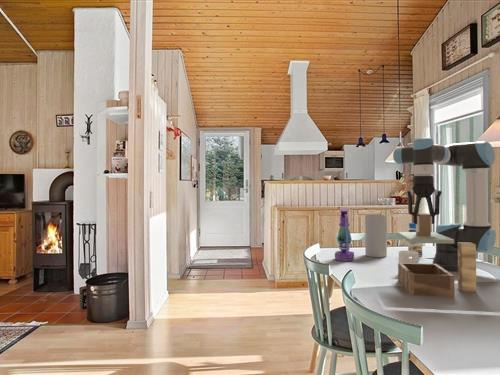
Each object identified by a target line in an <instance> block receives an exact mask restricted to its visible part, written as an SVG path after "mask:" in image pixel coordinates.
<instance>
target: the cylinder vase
mask: <svg viewBox="0 0 500 375" xmlns="http://www.w3.org/2000/svg"><path fill="white" fill-rule="evenodd" d="M364 215H365V217H364V224H365V227H364V228H365V229H364V230H365V231H364V232H365V233H364V235H365V236H364V237H365V245H364V246H365V251H364V252H365V256H366V257H370V258H380V259H381V258H385V257H387V255H388V251H387V250H388V249H387V247H388V243H387V242H388V241H387V240H388V238H387V232H388V231H387V215H386V214H364Z"/></svg>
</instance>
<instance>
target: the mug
mask: <svg viewBox="0 0 500 375" xmlns="http://www.w3.org/2000/svg"><path fill="white" fill-rule="evenodd" d="M419 257H420V256H419V253H418V252H416V251H408V250H399V251H398V263H420V262H419V260H420V259H419Z"/></svg>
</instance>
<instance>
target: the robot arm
mask: <svg viewBox="0 0 500 375" xmlns="http://www.w3.org/2000/svg"><path fill="white" fill-rule="evenodd" d="M412 143H413V144H412V145H413V146H402V147H397V148H395V149H394V150H393V153H392V154H393V155H392V156H393V157H392V158H393V161H394V163H396V164H399V165H400V164H402V165H404V164H412V165H413V167H412V168H413V170H412V171H413V175H414V176H413V186H412V189H410V190H406V191H405V193H406V195H407V208H408V209H407V212H408V214H409V215H411V216H412V219H413V221H412V223H414V224H416V232H420V223H419V216H417V215H418V213H419V210H420V205H421V200H422V199H424V198H425V200H426V204H427V208H428V214H430V215H431V232H433V225H435V217H436V216H439V215H440V211H441V210H440V209H441V208H440V206H441V204H440V202H441V195H442V191H441V190H437V189H436V188H435V186H434V180H435V178H434V164H436V165H439V166H440V165H441V166H448V167H449V166H450V167H451V166H452V167H462V168H461V169H462V171H463V172H464V173H465V195H466V196H465V199H466V200H465V201H466V202H465V206H466V207H465V208H466V209H465V210H466V221H465V222H463V223H462V224H461V223H447V224H446V223H445V224H438V225H436V227H435V232H436V233H438V234H441V235H443V236H446V237H449V238H451V239H454V244H452V243H435V254H434V257H433V259H432V263H431V264H437V265H439V266H440V267H442V268H443V269H445V270H446V271H448V272H449V271H451V272H458V242H466V243H473V244H476V253H489V252H490V251H491V250H492V249H494V247H495V243H496V239H497V234H496V230H495V229H494V228H491V225H492V224H491V223H490V222H489V221H488V216H487V215H488V213H487V212H488V210H487V209H488V208H487V205H488V203H487V172H488V171H489V170H490V169H491V166H492V165H493V164H494V163H495V158H496V156H495V151H494V147H493V145H491V143H490V142H489V141H485V140H480V141H470V142H469V141H468V142H459V143H457V142H456V143H451V144H445V145H443V144H438V143H437V144H436V143H434V140H433V138H432V137H417V138H414V139H413V142H412ZM432 194H434V205H433V202H432ZM413 195H415V196H416V197H415V204H413ZM413 205H414V206H413Z"/></svg>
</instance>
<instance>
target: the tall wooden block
mask: <svg viewBox="0 0 500 375" xmlns="http://www.w3.org/2000/svg"><path fill="white" fill-rule="evenodd" d="M457 289H458V290H459V291H461V292H463V293H477V251H476V244H473V243H466V242H458V271H457Z"/></svg>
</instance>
